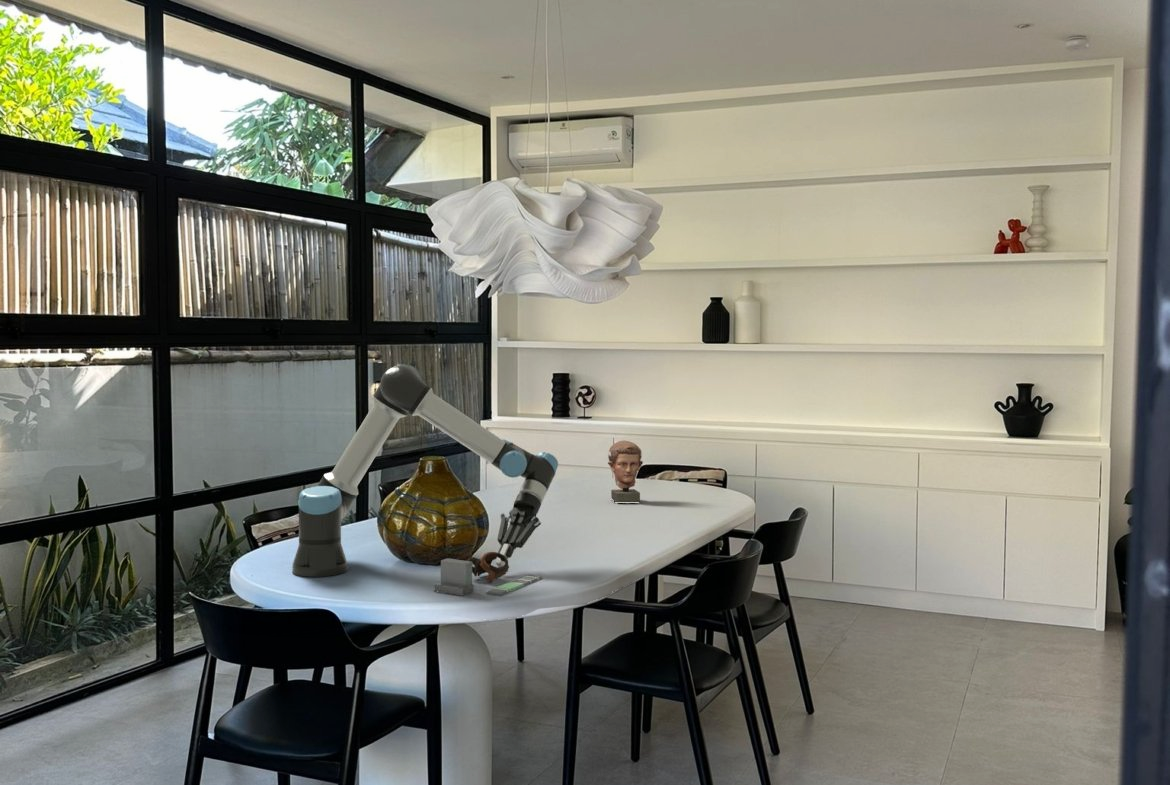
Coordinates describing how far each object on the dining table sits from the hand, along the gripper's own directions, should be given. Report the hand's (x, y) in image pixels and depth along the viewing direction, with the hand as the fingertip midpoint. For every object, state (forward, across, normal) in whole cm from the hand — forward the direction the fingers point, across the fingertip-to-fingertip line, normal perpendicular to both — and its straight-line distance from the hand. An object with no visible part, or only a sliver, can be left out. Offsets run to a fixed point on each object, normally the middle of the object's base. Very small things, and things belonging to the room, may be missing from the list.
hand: (499, 565), depth 288 cm
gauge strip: (+8, -10, +4) cm, 13 cm away
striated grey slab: (+16, +1, +12) cm, 21 cm away
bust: (-92, +23, -98) cm, 136 cm away
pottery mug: (+6, +1, +2) cm, 6 cm away
